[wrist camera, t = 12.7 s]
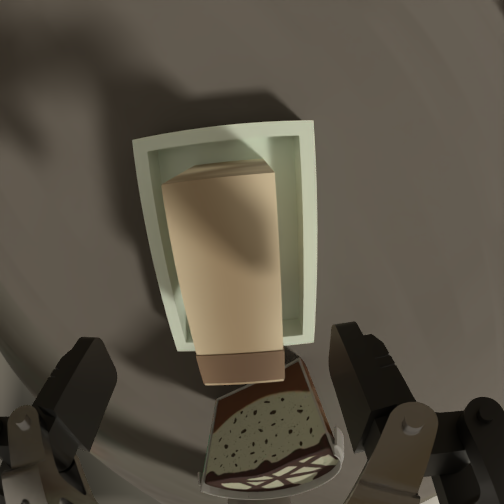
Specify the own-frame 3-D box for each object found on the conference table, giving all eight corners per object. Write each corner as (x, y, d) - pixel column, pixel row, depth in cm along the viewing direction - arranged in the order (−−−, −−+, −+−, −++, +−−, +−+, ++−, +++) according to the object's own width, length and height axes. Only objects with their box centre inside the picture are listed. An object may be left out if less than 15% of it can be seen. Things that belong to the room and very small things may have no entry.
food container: (243, 428, 27) (244, 507, 18) (204, 403, 25) (195, 492, 16) (345, 381, 24) (373, 469, 15) (314, 348, 22) (343, 451, 13)
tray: (307, 321, 21) (313, 342, 19) (183, 330, 21) (177, 351, 19) (303, 122, 16) (313, 120, 13) (146, 138, 16) (131, 140, 14)
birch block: (263, 158, 16) (276, 172, 10) (273, 305, 20) (285, 381, 13) (193, 165, 16) (159, 185, 10) (215, 310, 20) (204, 386, 13)
